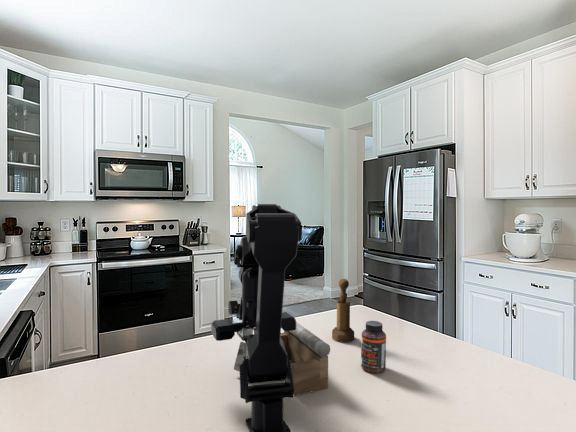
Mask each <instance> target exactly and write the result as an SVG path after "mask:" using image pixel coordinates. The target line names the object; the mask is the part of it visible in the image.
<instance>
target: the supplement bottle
mask: <svg viewBox="0 0 576 432" xmlns="http://www.w3.org/2000/svg"><path fill="white" fill-rule="evenodd" d="M360 341H361V343H360V344H361V345H360V349H361V350H360V367H361V368H362V370H364V371H365V372H367V373H372V374H380V373H382V372H384V371H385V370H386V365H387V363H386V361H387V334H386V332H385V331H384V330H383V323H382V322H381V321H378V320H368V321H366V322H365V329H363V330H362V332H361V339H360Z"/></svg>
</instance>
